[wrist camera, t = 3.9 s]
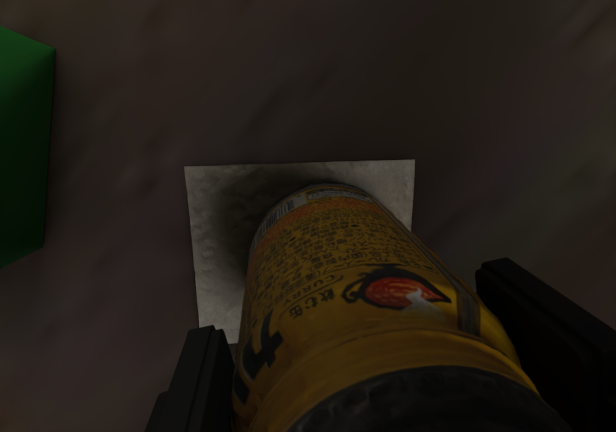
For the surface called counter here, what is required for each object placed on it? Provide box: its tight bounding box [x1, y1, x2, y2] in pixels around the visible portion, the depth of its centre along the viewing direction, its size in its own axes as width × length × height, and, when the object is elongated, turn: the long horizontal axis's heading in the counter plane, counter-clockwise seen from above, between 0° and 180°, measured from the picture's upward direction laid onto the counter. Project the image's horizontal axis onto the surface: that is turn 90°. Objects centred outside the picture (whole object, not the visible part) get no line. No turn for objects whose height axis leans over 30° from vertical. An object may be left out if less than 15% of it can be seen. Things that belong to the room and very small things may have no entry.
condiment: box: [184, 160, 573, 432], centre depth 12 cm, size 7×8×12 cm
